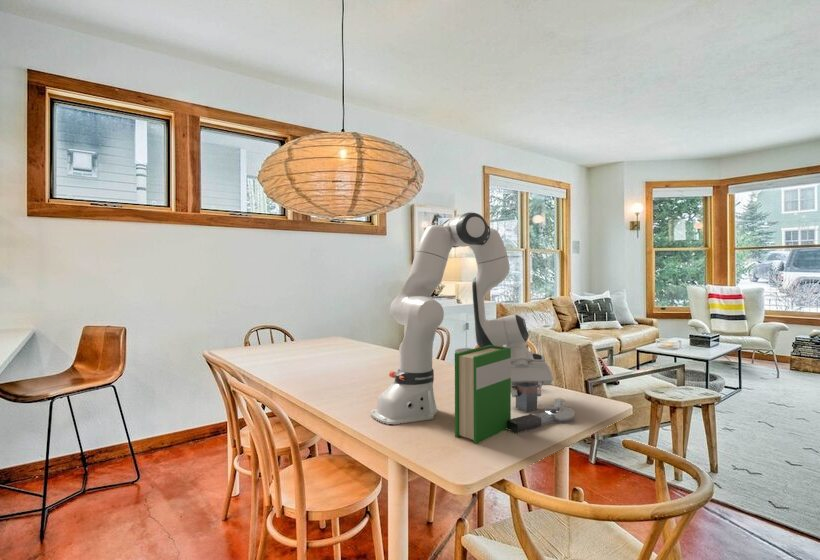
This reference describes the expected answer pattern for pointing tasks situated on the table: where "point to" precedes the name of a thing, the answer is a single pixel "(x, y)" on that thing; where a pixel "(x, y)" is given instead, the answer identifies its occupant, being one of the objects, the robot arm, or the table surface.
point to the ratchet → (542, 418)
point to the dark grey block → (526, 397)
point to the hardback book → (482, 392)
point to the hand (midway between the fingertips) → (527, 395)
